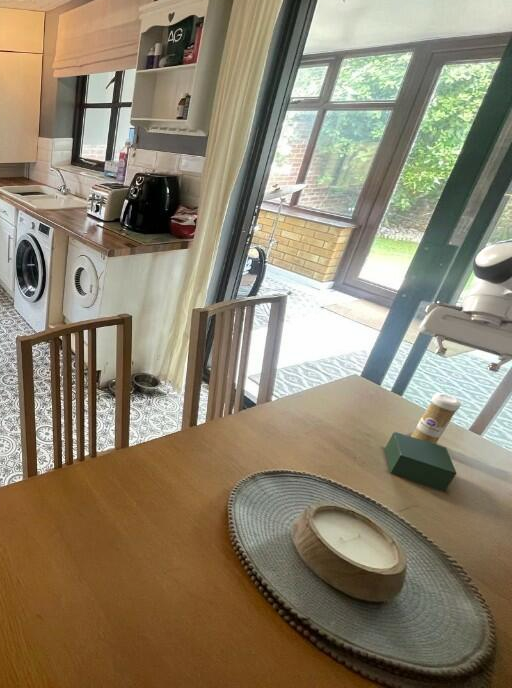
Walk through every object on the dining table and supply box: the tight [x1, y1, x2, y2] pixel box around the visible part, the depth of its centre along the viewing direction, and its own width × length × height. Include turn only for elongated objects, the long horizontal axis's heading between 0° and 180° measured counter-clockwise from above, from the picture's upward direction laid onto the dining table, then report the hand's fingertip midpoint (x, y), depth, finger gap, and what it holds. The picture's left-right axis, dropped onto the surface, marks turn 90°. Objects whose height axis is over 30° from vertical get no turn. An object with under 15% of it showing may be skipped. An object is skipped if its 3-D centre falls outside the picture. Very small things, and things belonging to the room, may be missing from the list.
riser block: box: [384, 431, 457, 492], centre depth 93 cm, size 9×9×6 cm
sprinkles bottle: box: [410, 392, 462, 445], centre depth 99 cm, size 5×5×13 cm
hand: (465, 362), depth 101 cm, fingers open, 8 cm apart
